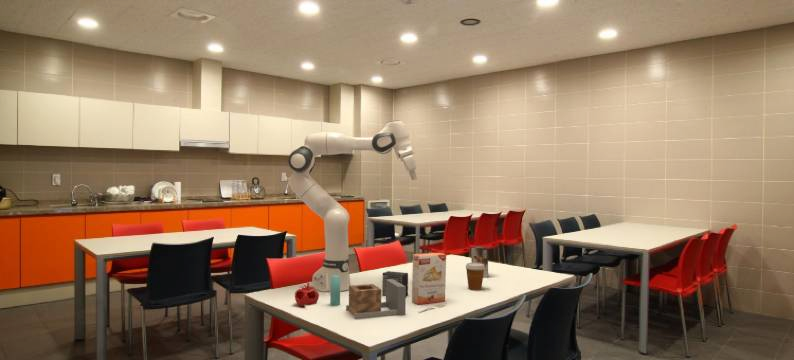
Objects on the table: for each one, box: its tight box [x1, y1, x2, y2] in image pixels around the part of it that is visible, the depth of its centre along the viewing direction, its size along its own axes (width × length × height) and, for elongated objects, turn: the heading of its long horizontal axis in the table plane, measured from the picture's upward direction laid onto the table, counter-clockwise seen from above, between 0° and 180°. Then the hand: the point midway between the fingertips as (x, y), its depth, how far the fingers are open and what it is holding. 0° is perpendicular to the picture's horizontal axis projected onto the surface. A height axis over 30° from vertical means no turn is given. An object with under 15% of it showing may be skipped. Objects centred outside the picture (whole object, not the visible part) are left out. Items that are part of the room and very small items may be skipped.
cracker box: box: [411, 252, 447, 305], centre depth 212 cm, size 14×6×21 cm, turn 117°
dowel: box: [329, 275, 341, 307], centre depth 202 cm, size 4×4×13 cm
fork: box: [417, 301, 448, 314], centre depth 198 cm, size 3×24×2 cm, turn 135°
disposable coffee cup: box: [465, 262, 485, 291], centre depth 237 cm, size 10×10×12 cm
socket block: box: [348, 283, 382, 318], centre depth 189 cm, size 10×10×10 cm
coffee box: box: [470, 245, 489, 279], centre depth 267 cm, size 9×6×16 cm
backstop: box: [345, 279, 407, 320], centre depth 190 cm, size 25×14×12 cm, turn 111°
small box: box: [381, 270, 409, 297], centre depth 222 cm, size 11×6×10 cm, turn 65°
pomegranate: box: [294, 282, 320, 307], centre depth 205 cm, size 10×10×9 cm
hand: (414, 179), depth 233 cm, fingers open, 8 cm apart
